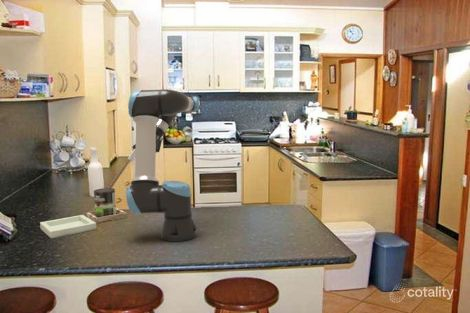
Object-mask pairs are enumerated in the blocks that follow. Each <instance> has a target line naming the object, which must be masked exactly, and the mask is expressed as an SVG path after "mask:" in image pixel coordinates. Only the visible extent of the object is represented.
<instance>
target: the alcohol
mask: <svg viewBox="0 0 470 313" xmlns="http://www.w3.org/2000/svg"><path fill="white" fill-rule="evenodd" d="M89 149H90V150H89V152H90V162H89V164H88V165H87V178H88V188H89V189H88V192H89V196H90V198H94V190H97V189H102V188H105V182H104V169H103V164H102V163H100V160H99V157H98V149H97V146H96V147H89Z"/></svg>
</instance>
